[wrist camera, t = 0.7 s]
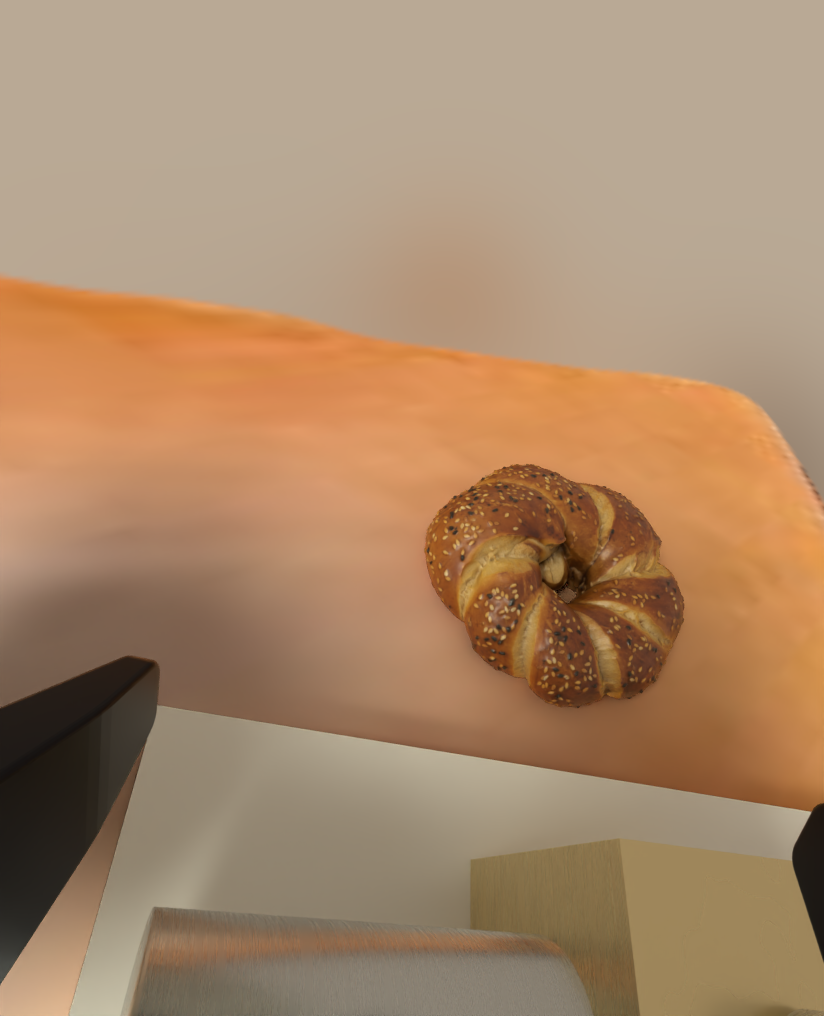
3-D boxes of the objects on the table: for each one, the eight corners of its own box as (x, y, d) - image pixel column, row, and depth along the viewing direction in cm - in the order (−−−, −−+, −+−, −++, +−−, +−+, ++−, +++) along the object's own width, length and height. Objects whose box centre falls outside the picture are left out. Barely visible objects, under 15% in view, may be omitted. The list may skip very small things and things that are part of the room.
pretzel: (393, 665, 23) (433, 630, 21) (434, 450, 30) (469, 401, 27) (658, 750, 26) (727, 729, 23) (643, 535, 32) (695, 499, 30)
